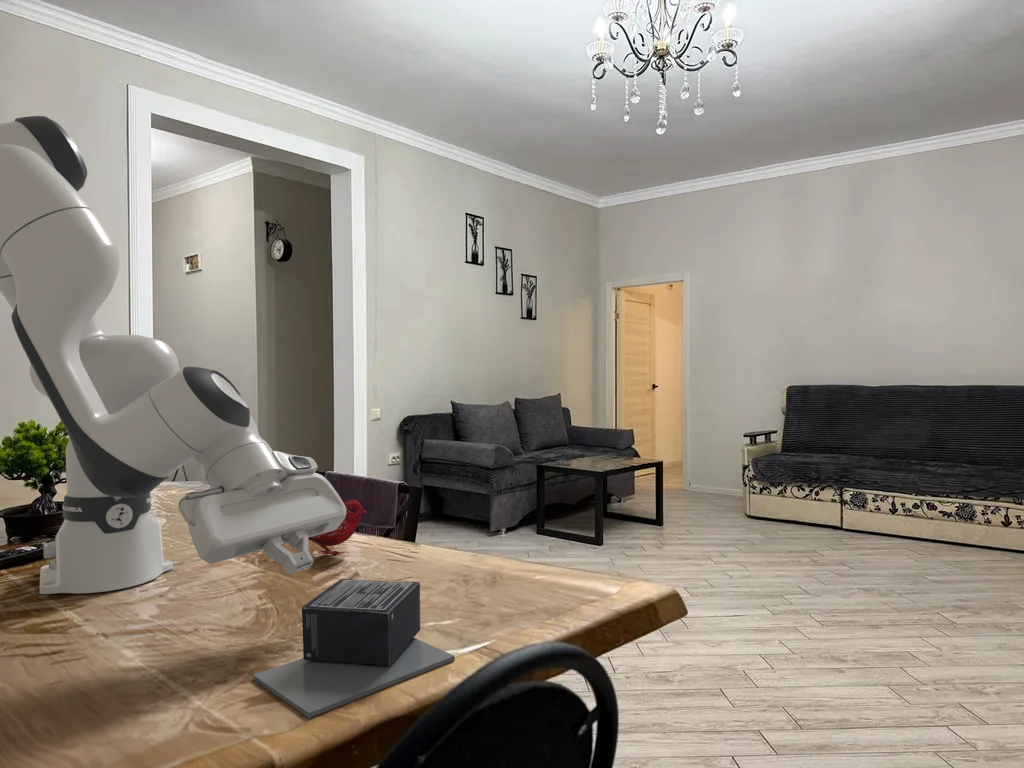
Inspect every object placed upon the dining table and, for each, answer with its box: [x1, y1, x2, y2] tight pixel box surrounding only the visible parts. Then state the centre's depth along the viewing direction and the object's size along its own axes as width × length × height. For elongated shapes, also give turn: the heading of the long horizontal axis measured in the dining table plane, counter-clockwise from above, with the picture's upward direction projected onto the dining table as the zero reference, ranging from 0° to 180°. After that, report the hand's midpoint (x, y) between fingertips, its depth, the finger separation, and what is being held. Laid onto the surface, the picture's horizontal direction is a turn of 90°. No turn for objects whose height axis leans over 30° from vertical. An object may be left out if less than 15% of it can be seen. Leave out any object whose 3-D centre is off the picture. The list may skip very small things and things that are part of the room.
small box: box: [301, 578, 421, 666], centre depth 81 cm, size 11×6×10 cm
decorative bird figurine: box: [308, 499, 367, 556], centre depth 124 cm, size 3×18×10 cm, turn 80°
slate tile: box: [252, 637, 456, 719], centre depth 76 cm, size 12×18×1 cm, turn 135°
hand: (301, 568), depth 84 cm, fingers closed
